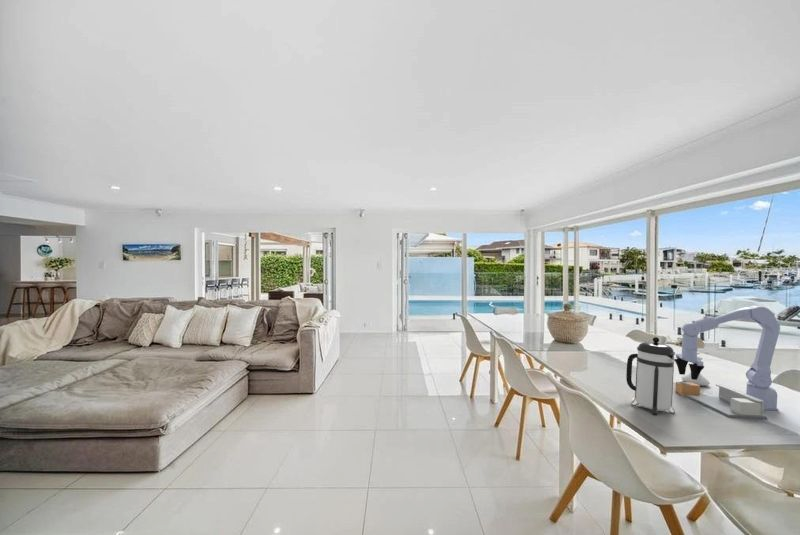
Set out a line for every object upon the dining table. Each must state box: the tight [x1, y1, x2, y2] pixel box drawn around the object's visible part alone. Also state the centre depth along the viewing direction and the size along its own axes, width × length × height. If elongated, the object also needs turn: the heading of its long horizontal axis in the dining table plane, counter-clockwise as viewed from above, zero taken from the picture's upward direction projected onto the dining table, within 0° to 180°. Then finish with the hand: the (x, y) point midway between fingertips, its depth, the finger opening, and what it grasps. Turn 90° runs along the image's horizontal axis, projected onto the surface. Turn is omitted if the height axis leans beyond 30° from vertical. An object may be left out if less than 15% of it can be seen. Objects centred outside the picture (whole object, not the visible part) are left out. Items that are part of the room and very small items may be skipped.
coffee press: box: [625, 336, 676, 416], centre depth 149 cm, size 17×16×30 cm
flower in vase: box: [681, 337, 711, 386], centre depth 188 cm, size 13×11×25 cm
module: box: [674, 381, 701, 396], centre depth 170 cm, size 8×4×5 cm, turn 86°
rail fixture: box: [686, 383, 768, 420], centre depth 154 cm, size 15×22×7 cm
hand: (688, 376), depth 170 cm, fingers open, 7 cm apart
